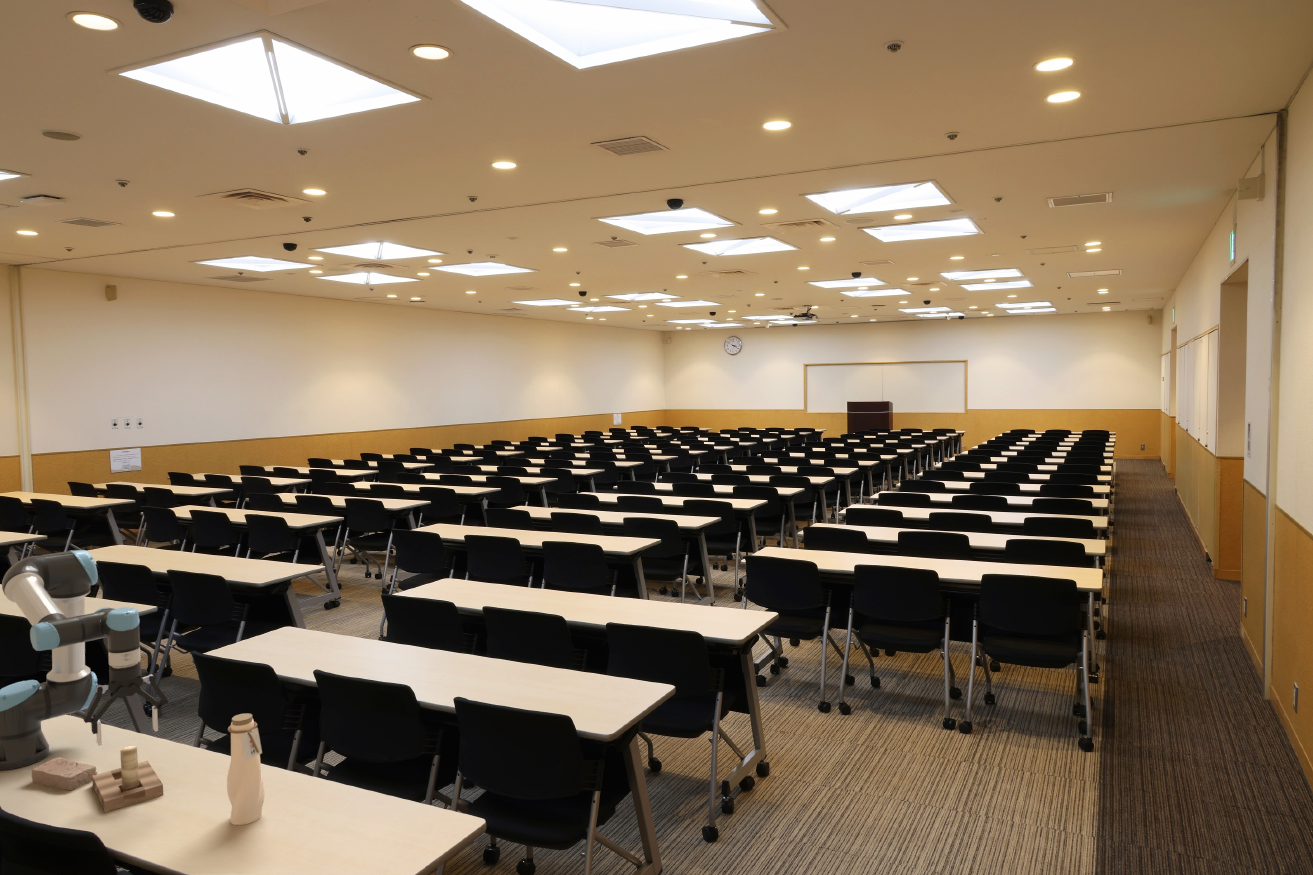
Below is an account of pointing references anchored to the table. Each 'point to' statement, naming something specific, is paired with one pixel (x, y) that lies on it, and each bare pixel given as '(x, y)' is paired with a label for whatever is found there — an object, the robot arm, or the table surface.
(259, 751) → the water bottle
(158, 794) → the board
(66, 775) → the brick
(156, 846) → the table surface
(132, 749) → the peg
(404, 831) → the table surface
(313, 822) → the table surface
